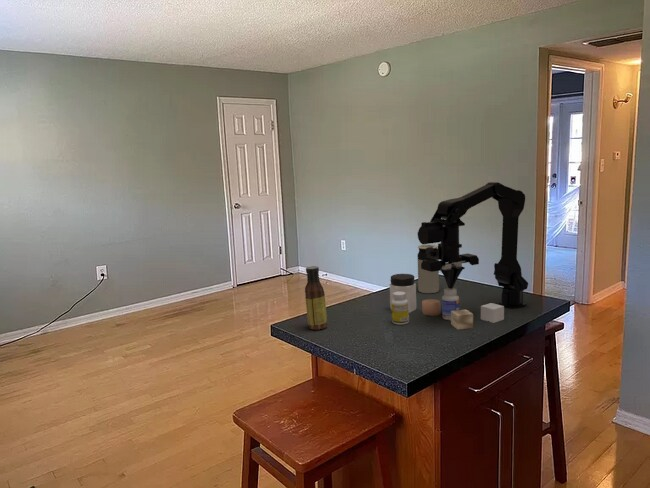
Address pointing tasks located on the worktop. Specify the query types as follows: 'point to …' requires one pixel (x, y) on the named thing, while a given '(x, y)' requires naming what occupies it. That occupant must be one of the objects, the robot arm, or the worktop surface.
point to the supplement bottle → (400, 308)
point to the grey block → (492, 312)
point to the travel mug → (427, 273)
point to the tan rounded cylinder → (431, 307)
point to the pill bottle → (449, 302)
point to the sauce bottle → (315, 300)
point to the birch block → (462, 319)
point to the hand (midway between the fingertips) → (450, 288)
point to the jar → (404, 289)
